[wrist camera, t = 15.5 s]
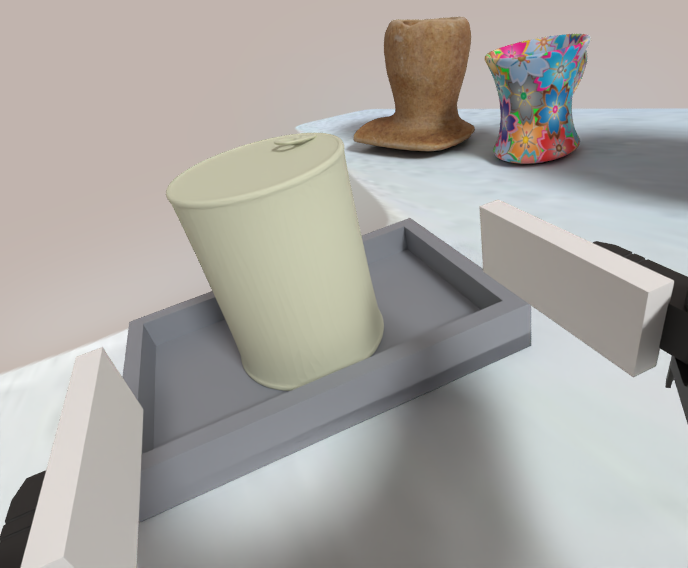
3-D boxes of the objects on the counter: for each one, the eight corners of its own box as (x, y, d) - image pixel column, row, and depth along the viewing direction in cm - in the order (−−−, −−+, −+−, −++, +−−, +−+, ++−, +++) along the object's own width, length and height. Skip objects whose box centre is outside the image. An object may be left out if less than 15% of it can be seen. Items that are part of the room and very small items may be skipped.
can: (413, 316, 28) (380, 122, 22) (310, 417, 23) (228, 203, 17) (314, 283, 34) (265, 123, 28) (215, 357, 29) (128, 182, 23)
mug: (541, 177, 43) (542, 57, 38) (471, 162, 51) (464, 60, 45) (620, 137, 47) (632, 23, 42) (545, 128, 55) (547, 30, 49)
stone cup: (497, 131, 58) (492, -4, 50) (434, 165, 53) (417, 20, 45) (413, 126, 69) (397, 14, 61) (354, 153, 64) (329, 35, 56)
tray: (140, 522, 21) (109, 484, 20) (148, 353, 33) (129, 321, 31) (531, 345, 25) (530, 302, 24) (415, 250, 37) (409, 217, 35)
